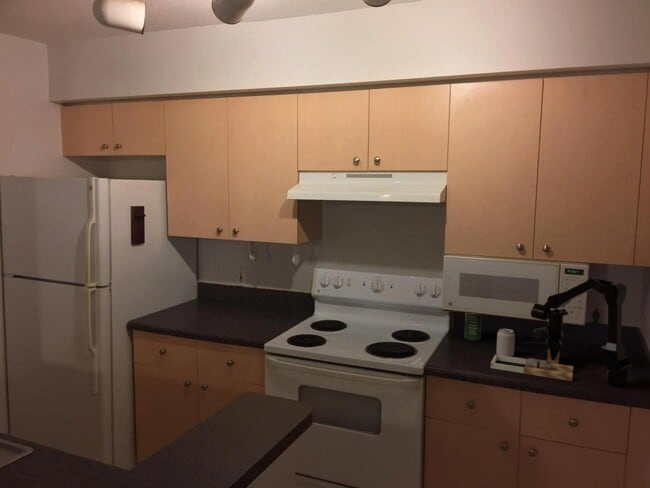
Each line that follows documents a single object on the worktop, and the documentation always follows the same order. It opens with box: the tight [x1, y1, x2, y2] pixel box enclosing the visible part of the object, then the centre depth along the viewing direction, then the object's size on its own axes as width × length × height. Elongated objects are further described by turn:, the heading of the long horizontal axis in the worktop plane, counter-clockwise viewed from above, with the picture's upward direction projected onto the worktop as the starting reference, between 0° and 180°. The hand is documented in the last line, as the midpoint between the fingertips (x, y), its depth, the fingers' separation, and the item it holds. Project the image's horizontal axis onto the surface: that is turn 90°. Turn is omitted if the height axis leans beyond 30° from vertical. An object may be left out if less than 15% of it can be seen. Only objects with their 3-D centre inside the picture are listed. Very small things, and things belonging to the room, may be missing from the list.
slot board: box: [522, 358, 574, 382], centre depth 215 cm, size 18×12×3 cm, turn 64°
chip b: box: [527, 357, 540, 369], centre depth 217 cm, size 4×4×4 cm
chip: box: [539, 359, 550, 370], centre depth 215 cm, size 4×4×4 cm
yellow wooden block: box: [546, 347, 561, 364], centre depth 226 cm, size 4×4×8 cm
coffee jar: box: [464, 312, 483, 342], centre depth 260 cm, size 10×8×19 cm
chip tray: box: [490, 353, 528, 374], centre depth 222 cm, size 13×12×3 cm
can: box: [495, 328, 516, 357], centre depth 236 cm, size 8×8×12 cm
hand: (553, 358), depth 227 cm, fingers open, 5 cm apart
